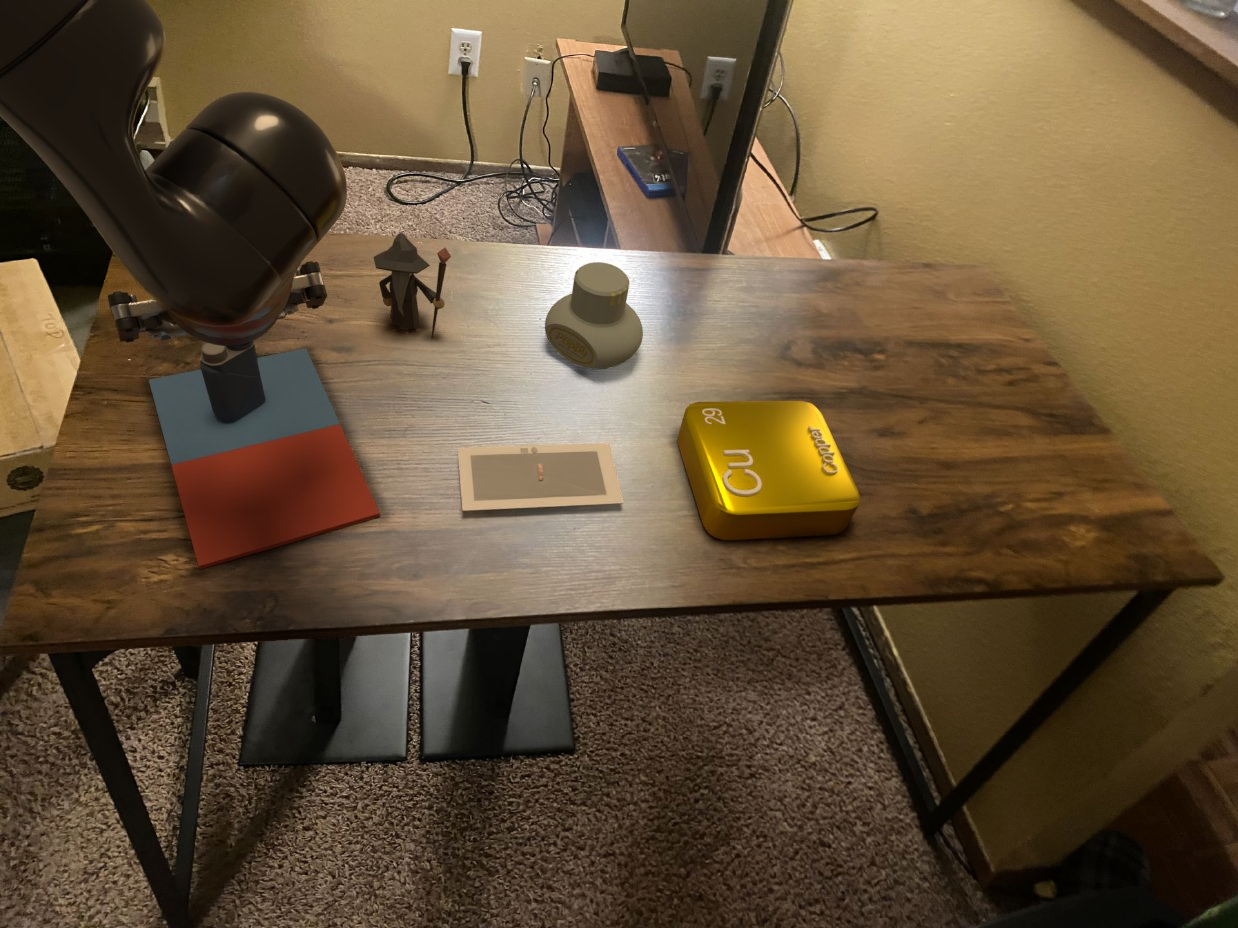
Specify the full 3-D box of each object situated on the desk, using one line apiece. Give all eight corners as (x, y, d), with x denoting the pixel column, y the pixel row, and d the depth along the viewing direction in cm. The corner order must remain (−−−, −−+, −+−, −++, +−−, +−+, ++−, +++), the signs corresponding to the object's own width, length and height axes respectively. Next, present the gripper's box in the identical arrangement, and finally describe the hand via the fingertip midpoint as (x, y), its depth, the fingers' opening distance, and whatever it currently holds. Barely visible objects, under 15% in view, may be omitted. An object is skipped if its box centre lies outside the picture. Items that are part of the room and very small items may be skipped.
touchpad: (622, 510, 79) (625, 495, 78) (462, 518, 76) (462, 502, 74) (607, 450, 85) (610, 435, 83) (457, 455, 81) (457, 439, 80)
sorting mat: (199, 569, 68) (198, 566, 68) (149, 383, 81) (148, 379, 81) (380, 516, 75) (379, 513, 74) (306, 351, 88) (306, 347, 87)
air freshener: (649, 356, 96) (666, 284, 89) (607, 390, 91) (621, 317, 83) (575, 313, 99) (585, 240, 92) (530, 343, 94) (537, 269, 87)
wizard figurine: (372, 337, 91) (364, 242, 82) (383, 306, 95) (376, 212, 86) (449, 347, 92) (449, 253, 83) (456, 316, 95) (457, 223, 87)
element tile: (852, 535, 82) (870, 504, 78) (707, 543, 78) (719, 511, 75) (803, 427, 91) (817, 395, 88) (672, 430, 88) (681, 396, 85)
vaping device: (272, 399, 82) (251, 299, 73) (227, 427, 78) (200, 326, 70) (253, 387, 82) (230, 287, 74) (208, 415, 79) (179, 313, 70)
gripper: (324, 204, 55) (298, 256, 70) (77, 235, 49) (105, 285, 63) (354, 316, 56) (323, 344, 70) (116, 360, 50) (136, 381, 64)
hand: (220, 316), depth 67 cm, fingers open, 8 cm apart
